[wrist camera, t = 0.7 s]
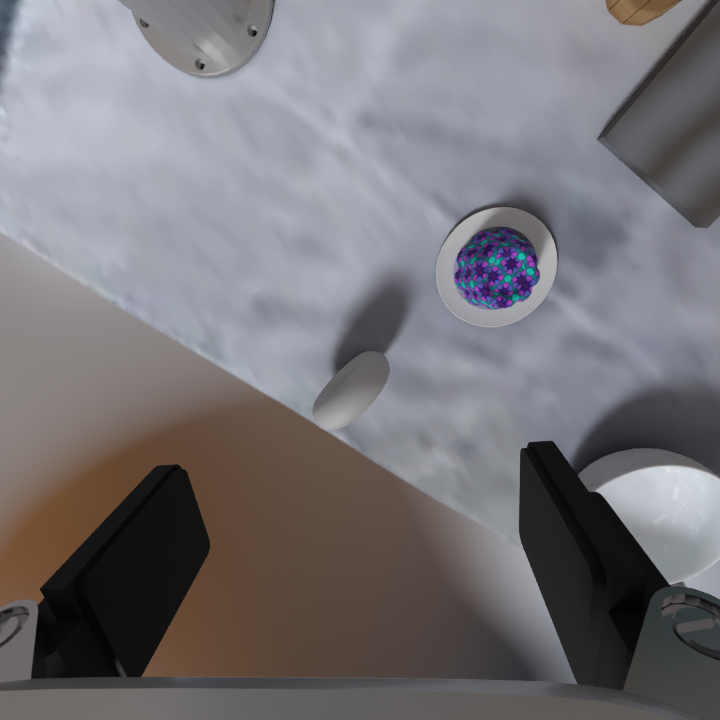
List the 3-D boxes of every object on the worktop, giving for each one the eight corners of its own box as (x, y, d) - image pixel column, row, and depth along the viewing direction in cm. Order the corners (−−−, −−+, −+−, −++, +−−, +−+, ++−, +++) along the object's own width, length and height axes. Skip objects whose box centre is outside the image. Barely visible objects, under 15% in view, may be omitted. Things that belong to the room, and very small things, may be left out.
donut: (375, 332, 43) (370, 364, 34) (396, 353, 44) (397, 391, 35) (315, 388, 46) (295, 432, 37) (336, 407, 47) (322, 455, 38)
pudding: (575, 281, 40) (601, 290, 35) (474, 346, 43) (485, 362, 38) (516, 180, 37) (535, 174, 32) (412, 257, 40) (415, 263, 35)
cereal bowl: (660, 403, 44) (707, 437, 37) (715, 504, 48) (767, 550, 41) (522, 472, 48) (542, 513, 42) (582, 559, 52) (610, 609, 45)
